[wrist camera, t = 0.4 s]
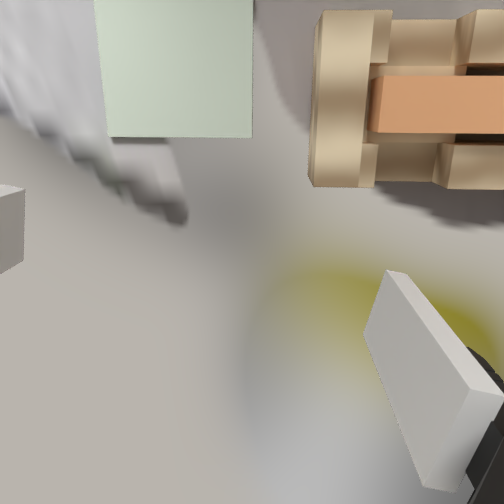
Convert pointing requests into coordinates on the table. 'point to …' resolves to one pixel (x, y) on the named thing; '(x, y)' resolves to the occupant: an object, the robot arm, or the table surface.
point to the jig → (399, 64)
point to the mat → (176, 67)
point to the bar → (437, 104)
